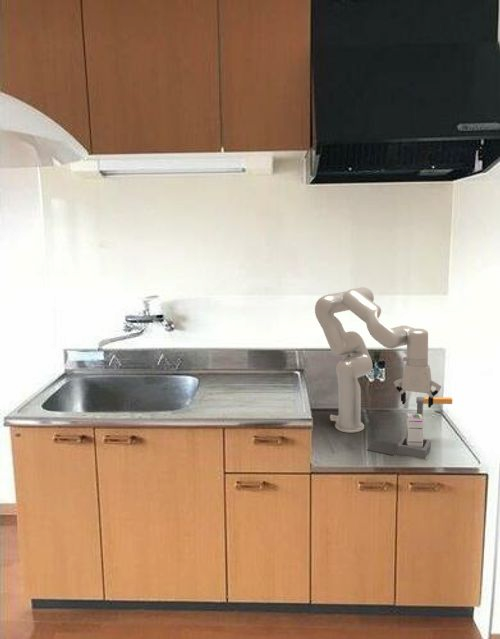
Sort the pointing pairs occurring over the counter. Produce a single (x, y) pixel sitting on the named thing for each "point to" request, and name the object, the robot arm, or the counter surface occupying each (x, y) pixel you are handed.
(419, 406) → the clip post
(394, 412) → the counter surface
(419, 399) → the bar
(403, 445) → the collar
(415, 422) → the syrup box
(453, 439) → the counter surface
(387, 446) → the mat
